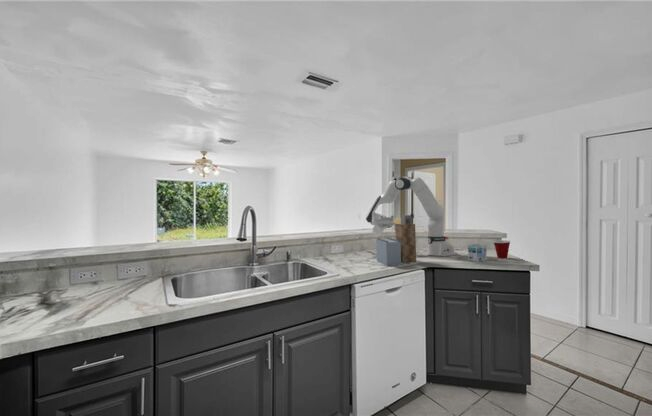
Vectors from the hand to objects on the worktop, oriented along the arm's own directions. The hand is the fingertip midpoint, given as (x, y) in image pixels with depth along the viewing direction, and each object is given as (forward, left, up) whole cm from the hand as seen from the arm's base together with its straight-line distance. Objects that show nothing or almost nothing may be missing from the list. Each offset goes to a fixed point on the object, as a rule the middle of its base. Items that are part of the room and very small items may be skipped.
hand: (387, 216), depth 228 cm
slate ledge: (+13, +31, -30) cm, 45 cm away
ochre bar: (0, +26, -4) cm, 26 cm away
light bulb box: (-46, +44, -31) cm, 70 cm away
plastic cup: (-67, +42, -31) cm, 85 cm away
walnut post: (0, +31, -30) cm, 43 cm away
